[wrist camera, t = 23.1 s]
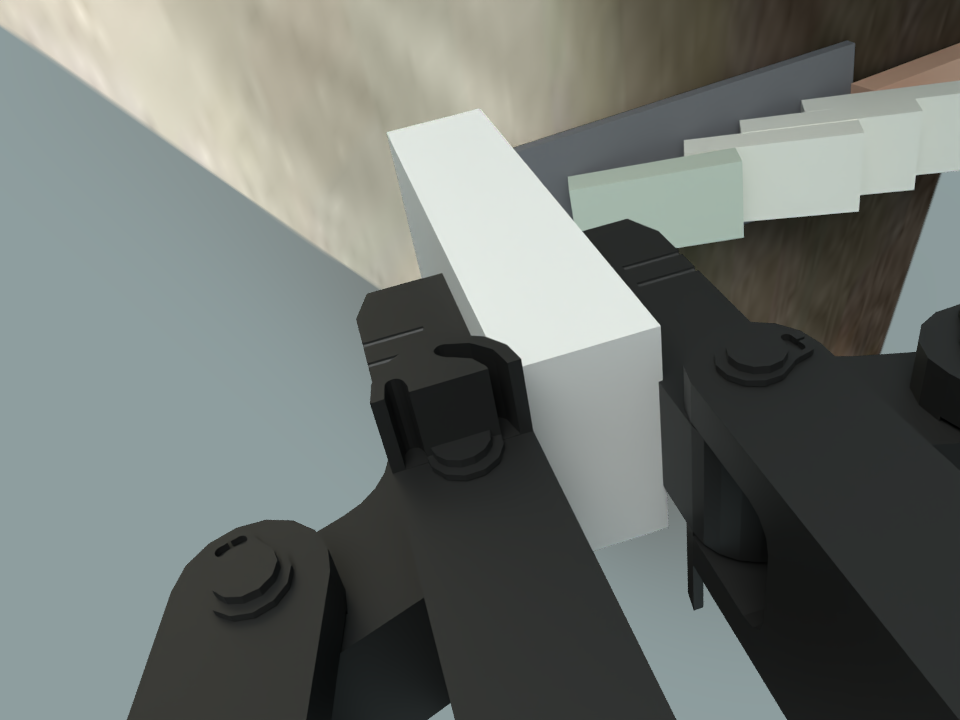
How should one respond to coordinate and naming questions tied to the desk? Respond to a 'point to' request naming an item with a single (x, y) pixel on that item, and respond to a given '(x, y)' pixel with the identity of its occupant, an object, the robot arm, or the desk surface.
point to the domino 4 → (945, 120)
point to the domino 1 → (667, 197)
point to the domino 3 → (868, 139)
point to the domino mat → (687, 118)
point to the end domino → (915, 72)
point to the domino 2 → (795, 168)
